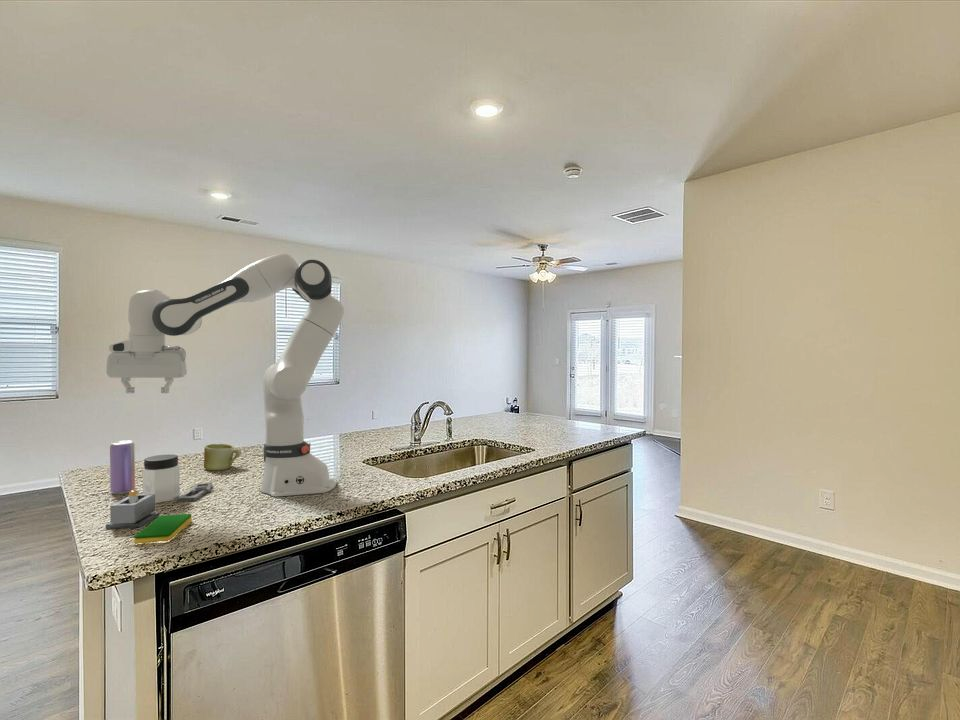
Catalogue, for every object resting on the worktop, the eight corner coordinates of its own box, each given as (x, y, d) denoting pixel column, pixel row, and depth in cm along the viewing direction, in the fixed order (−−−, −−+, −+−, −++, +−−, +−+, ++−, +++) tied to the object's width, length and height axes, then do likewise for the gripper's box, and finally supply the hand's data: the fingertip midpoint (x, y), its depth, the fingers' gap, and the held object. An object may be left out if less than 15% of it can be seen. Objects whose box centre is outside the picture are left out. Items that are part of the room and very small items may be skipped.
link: (155, 510, 126) (155, 493, 126) (134, 523, 117) (134, 505, 117) (132, 511, 125) (132, 494, 125) (110, 523, 116) (110, 505, 116)
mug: (191, 466, 169) (202, 438, 172) (210, 468, 179) (221, 442, 181) (220, 475, 167) (231, 446, 169) (238, 476, 176) (249, 450, 179)
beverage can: (122, 495, 142) (121, 444, 142) (105, 494, 143) (104, 443, 143) (140, 489, 148) (139, 440, 148) (123, 488, 149) (123, 439, 149)
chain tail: (220, 485, 153) (220, 479, 153) (197, 500, 138) (197, 494, 138) (196, 485, 152) (196, 479, 152) (171, 501, 137) (171, 494, 137)
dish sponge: (192, 522, 122) (192, 513, 122) (169, 544, 109) (169, 534, 109) (160, 524, 121) (160, 515, 121) (133, 547, 107) (133, 536, 107)
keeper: (159, 516, 125) (159, 485, 125) (141, 527, 117) (141, 495, 117) (126, 517, 124) (125, 486, 124) (105, 528, 117) (105, 496, 116)
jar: (136, 501, 137) (135, 459, 137) (162, 493, 145) (162, 453, 144) (160, 504, 134) (159, 461, 134) (186, 496, 142) (185, 455, 142)
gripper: (190, 346, 145) (190, 392, 146) (116, 345, 143) (116, 392, 143) (180, 346, 139) (180, 394, 140) (102, 345, 136) (103, 394, 137)
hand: (147, 393), depth 141 cm, fingers open, 8 cm apart
